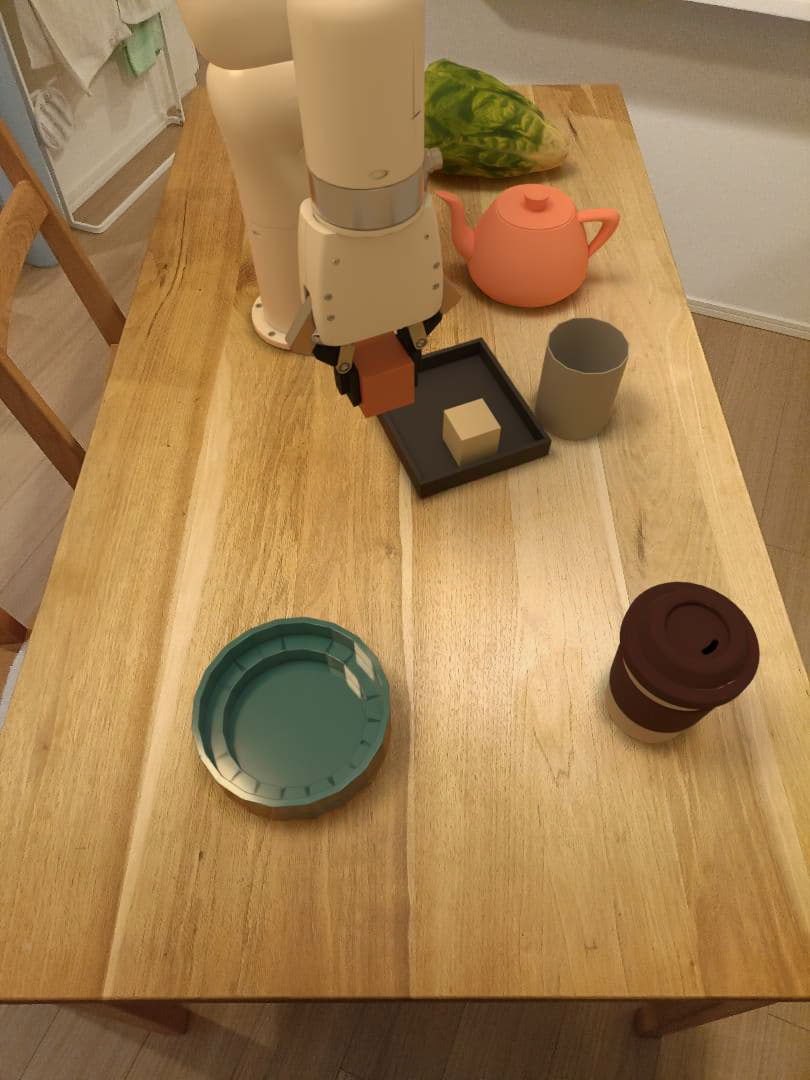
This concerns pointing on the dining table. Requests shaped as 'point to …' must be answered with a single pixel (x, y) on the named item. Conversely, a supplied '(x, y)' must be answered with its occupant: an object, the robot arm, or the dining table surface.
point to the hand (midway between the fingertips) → (379, 384)
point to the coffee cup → (678, 660)
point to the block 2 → (471, 432)
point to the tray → (449, 385)
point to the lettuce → (486, 125)
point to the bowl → (293, 718)
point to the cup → (580, 377)
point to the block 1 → (383, 374)
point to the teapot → (529, 244)
